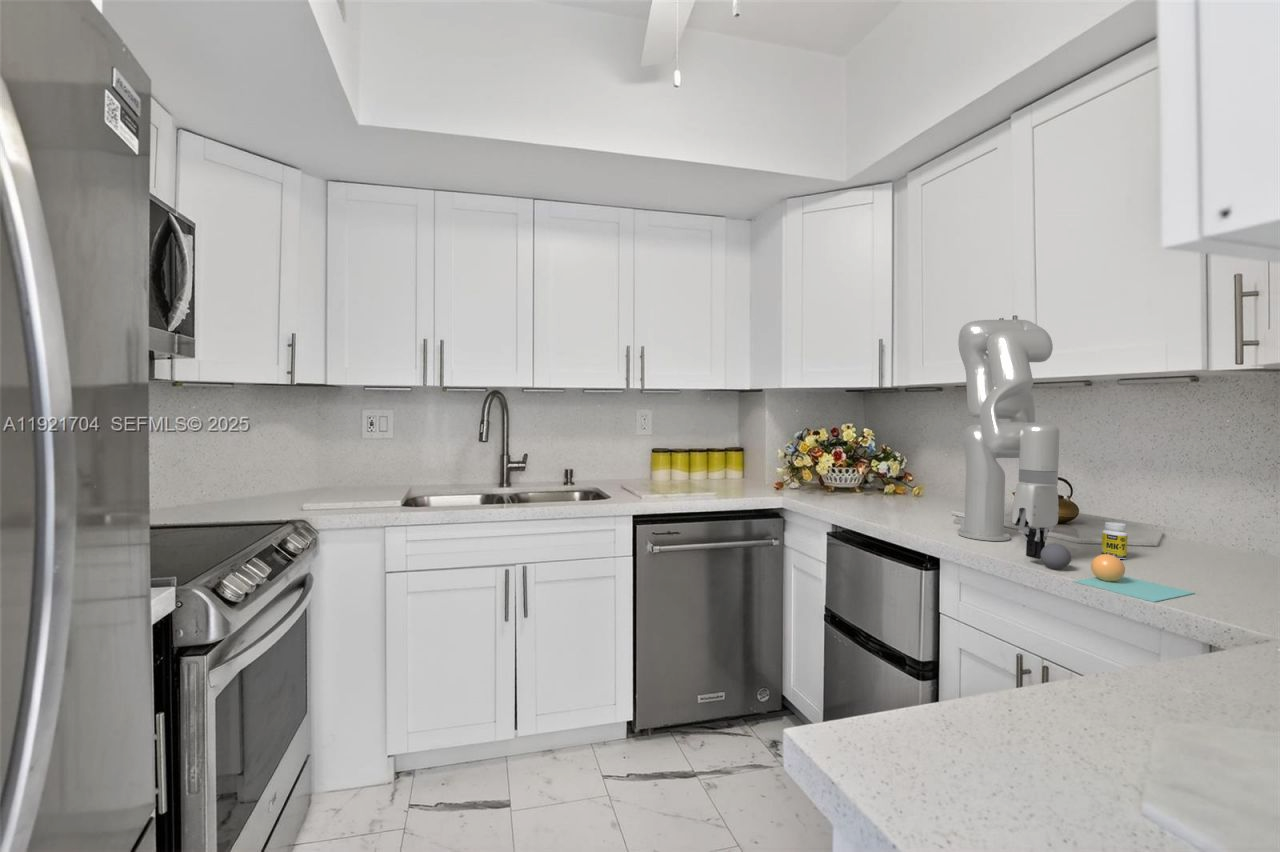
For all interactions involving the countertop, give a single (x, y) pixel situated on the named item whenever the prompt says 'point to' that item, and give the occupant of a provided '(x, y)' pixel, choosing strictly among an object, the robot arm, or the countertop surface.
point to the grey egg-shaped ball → (1055, 556)
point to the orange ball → (1108, 568)
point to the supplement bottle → (1114, 540)
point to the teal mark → (1137, 588)
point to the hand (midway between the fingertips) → (1035, 557)
